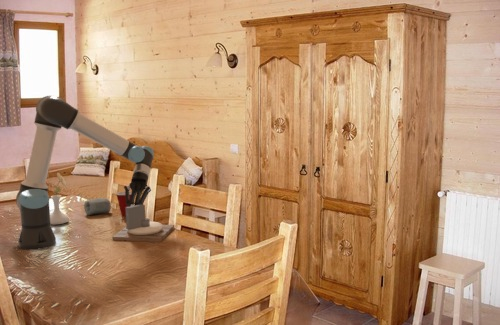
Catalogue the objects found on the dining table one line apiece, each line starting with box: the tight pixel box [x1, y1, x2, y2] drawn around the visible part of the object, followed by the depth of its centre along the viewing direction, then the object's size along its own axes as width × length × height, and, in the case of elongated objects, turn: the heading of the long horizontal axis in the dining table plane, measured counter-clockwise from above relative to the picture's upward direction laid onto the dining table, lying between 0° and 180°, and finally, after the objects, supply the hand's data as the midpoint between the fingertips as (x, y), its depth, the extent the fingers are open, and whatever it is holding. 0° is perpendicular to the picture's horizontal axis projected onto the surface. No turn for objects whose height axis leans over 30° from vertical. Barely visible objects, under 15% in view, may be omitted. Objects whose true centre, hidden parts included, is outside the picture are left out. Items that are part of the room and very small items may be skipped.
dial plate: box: [112, 224, 175, 243], centre depth 251 cm, size 22×22×2 cm
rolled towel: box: [83, 197, 112, 216], centre depth 289 cm, size 14×10×10 cm
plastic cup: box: [115, 191, 136, 217], centre depth 287 cm, size 11×11×12 cm
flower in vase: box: [50, 172, 70, 225], centre depth 270 cm, size 13×11×25 cm
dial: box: [125, 203, 163, 235], centre depth 250 cm, size 16×16×12 cm
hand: (130, 218), depth 248 cm, fingers closed
